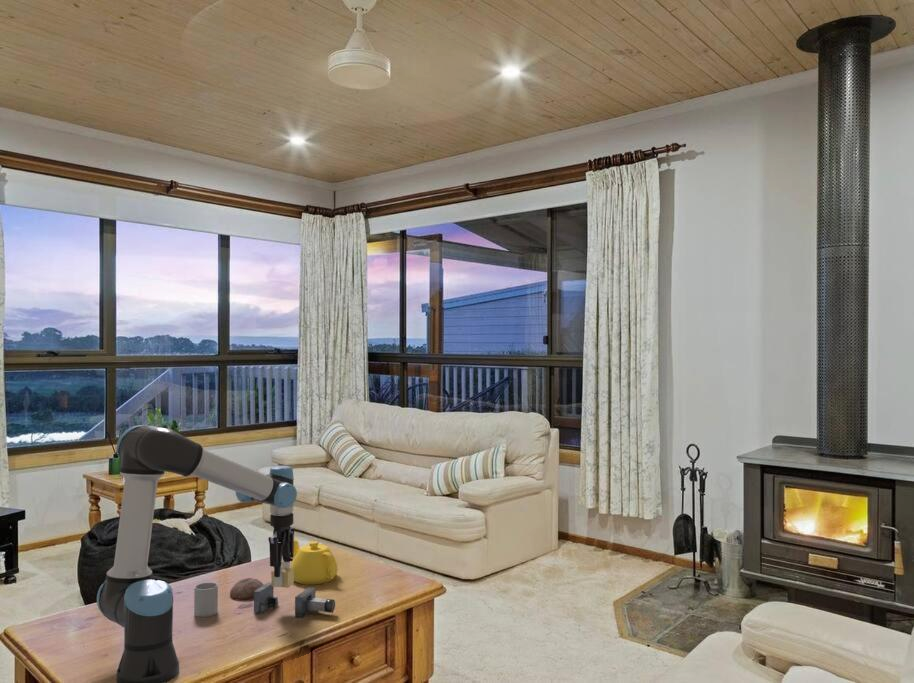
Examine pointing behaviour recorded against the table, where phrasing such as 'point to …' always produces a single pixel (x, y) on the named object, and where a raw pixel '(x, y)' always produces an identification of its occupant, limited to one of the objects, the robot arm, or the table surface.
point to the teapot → (313, 564)
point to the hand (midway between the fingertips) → (282, 583)
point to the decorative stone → (245, 589)
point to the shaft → (320, 604)
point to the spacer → (285, 577)
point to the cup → (206, 599)
